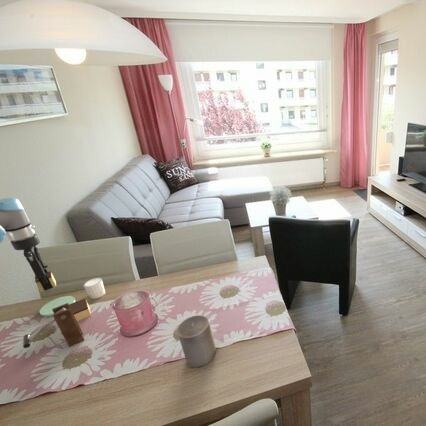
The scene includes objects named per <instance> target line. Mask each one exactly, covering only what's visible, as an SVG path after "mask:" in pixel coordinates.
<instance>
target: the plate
mask: <svg viewBox="0 0 426 426" xmlns="http://www.w3.org/2000/svg"><path fill="white" fill-rule="evenodd" d="M74 302H77V300H76V298H75V297H74V296H72V295H65V296H61V297H57V298H54V299H52V300H50V301H48V302H47V303H45V304H44V305H43V306H42V307H41V308H40V309H39V314H40V316H41V317H43V318H49V317H53V315H54V312H53V311H52V309H53V308H56V307H59V306H61V305H64V304H66V303H68V304H72V303H74Z"/></svg>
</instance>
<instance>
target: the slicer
mask: <svg viewBox="0 0 426 426" xmlns="http://www.w3.org/2000/svg"><path fill="white" fill-rule="evenodd" d="M64 310H66V308H64V307H63V308H62V309H60V310H59V311H58V312H56V313H59V312H61V311H64ZM54 323H56V321H55V319H54V317H52V319H50V320H49V321H47V323H45V324H44V325H42V326H41V327H40V328H39V329H37V330H36V331H35V332H33V333H32V334H25V335H24V336H23V339H22V340H23V341H22V347H23V349H28V348H30V347H31V341H32V340H34V339H35V338H36V337H37V336H39V335H40V334H41V333H43V332H44V331H46V330H47V329H48V328H49V327H50V326H52V325H53V324H54Z"/></svg>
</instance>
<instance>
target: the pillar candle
mask: <svg viewBox="0 0 426 426" xmlns="http://www.w3.org/2000/svg"><path fill="white" fill-rule="evenodd" d="M176 331H177V336H178V340H179V342H180V346H181V348H182V352H183V355H184V358H185V360H186V364H187V365H188V366H189V367H190V368H199V367H203V366H207V365H208V364H209V363H211V362H212V361H213V359H214V358H215V356H216V353H217V347H216V344H215V339H214V336H213V332H212V329H211V325H210V321H209V319H208V317H206V316H205V315H200V314H199V315H193V316H189V317H187V318H186V319H184V320H183V321H182V322H181V323H180V324H178V326H177V330H176Z"/></svg>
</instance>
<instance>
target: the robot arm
mask: <svg viewBox="0 0 426 426" xmlns="http://www.w3.org/2000/svg"><path fill="white" fill-rule="evenodd" d="M35 228H36V226H35V225H32V223H31V221H30V219H29V216H28V215H27V213H26V210H25V208H24V207H23V205H22V203H21V202H20V200H19V199H18V198H16V197H7V198H1V199H0V244H1V243H2V242H4V240H5V238H6V237H7V239H8V240H9V241H10V244H11V246H12V248H13V249H14V250H15V251H23V252H22V254H23V256H24V258H25V259H26V261H27V262H28V264H29V266H30V268H31V270H32V272H33V274H34V275H35V276H36V277H35V276H34V280H35V279H39V281H40V283H41V285H42V287H43V289H44V290H45V291H48V290H51V289H53V288H54V287H53V286H52V284H51V282H50V280H49V278H48V276H47V274H45V273H46V272H49V271H48V269H47V268H48V265H47V264H46V265H45V262H44V260H43V258H42V257H41V254H40V252H39V248H38V245H39V244H40V242H41V241H40V239H39V237H38V235H37V234H36V231H35ZM45 291H44V292H45Z"/></svg>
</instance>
